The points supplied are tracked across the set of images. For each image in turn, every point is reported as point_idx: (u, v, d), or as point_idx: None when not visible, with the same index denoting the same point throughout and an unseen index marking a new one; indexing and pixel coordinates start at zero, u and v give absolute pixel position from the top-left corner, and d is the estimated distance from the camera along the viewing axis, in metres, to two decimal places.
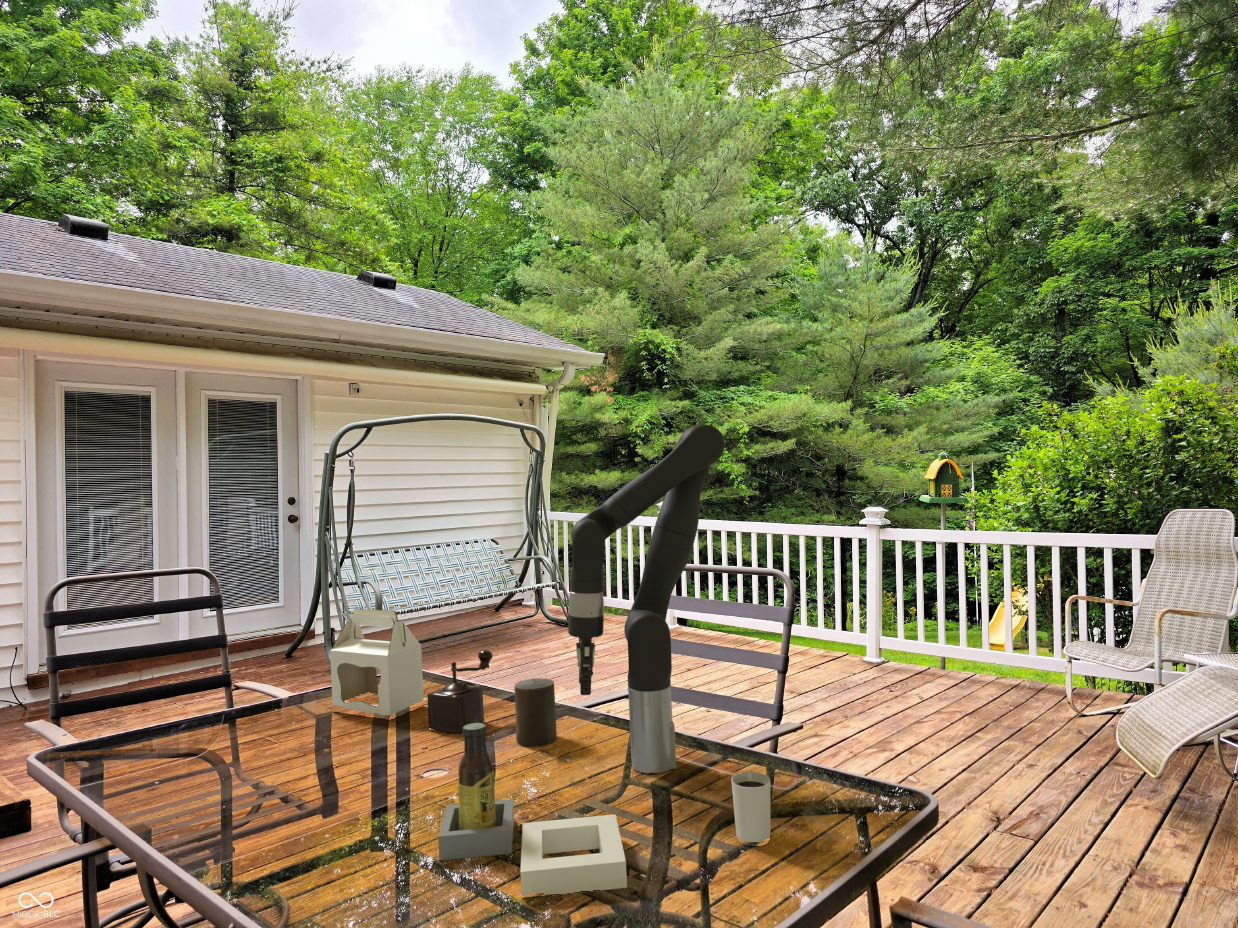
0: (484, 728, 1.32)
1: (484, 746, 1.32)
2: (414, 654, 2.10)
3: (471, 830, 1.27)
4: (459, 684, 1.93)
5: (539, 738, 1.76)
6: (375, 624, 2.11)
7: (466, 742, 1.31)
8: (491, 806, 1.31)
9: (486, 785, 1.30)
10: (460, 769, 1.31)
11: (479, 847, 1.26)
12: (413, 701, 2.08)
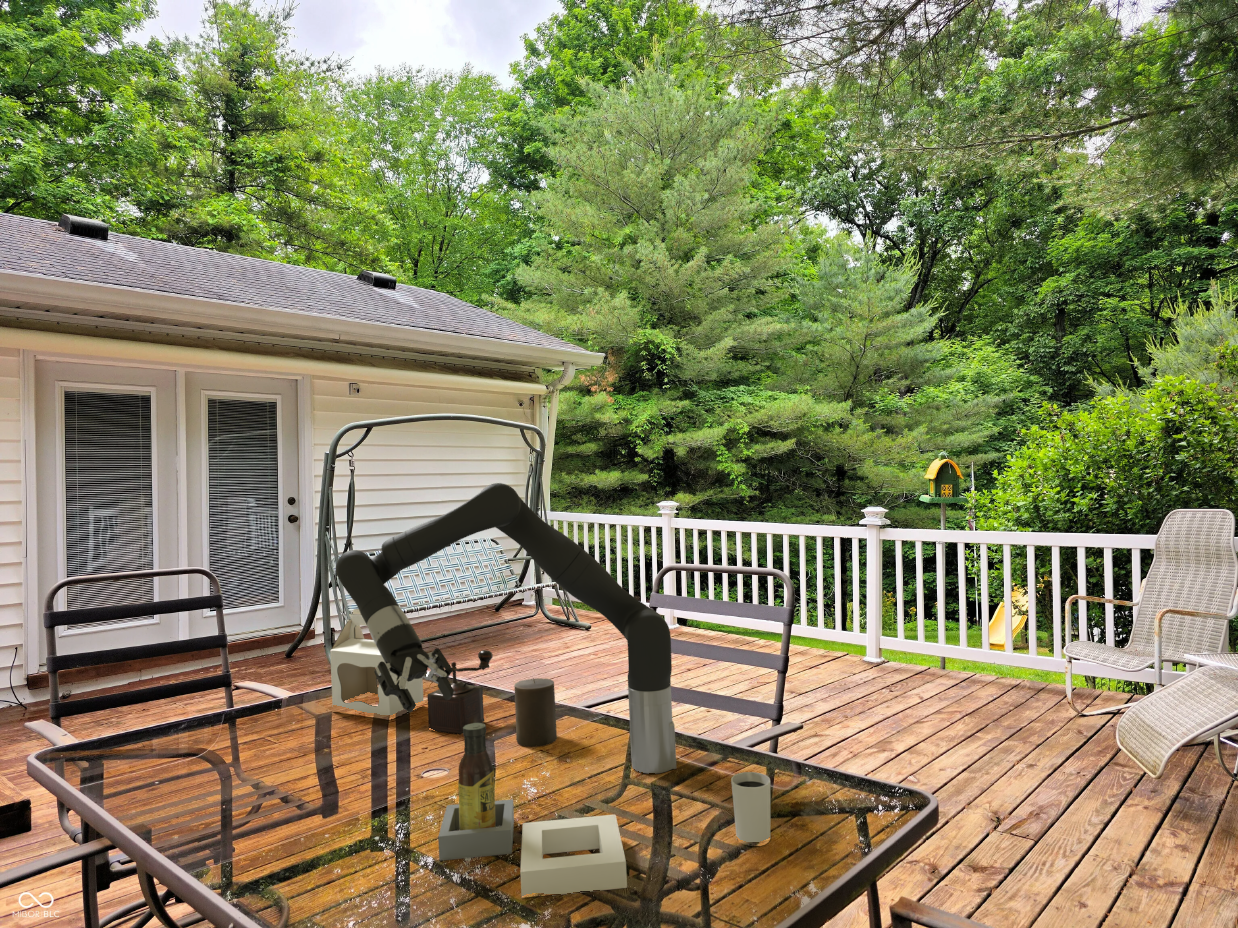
0: (484, 728, 1.32)
1: (484, 746, 1.32)
2: None
3: (471, 830, 1.27)
4: (459, 684, 1.93)
5: (539, 738, 1.76)
6: None
7: (466, 742, 1.31)
8: (492, 806, 1.31)
9: (486, 785, 1.30)
10: (460, 769, 1.31)
11: (479, 847, 1.26)
12: None
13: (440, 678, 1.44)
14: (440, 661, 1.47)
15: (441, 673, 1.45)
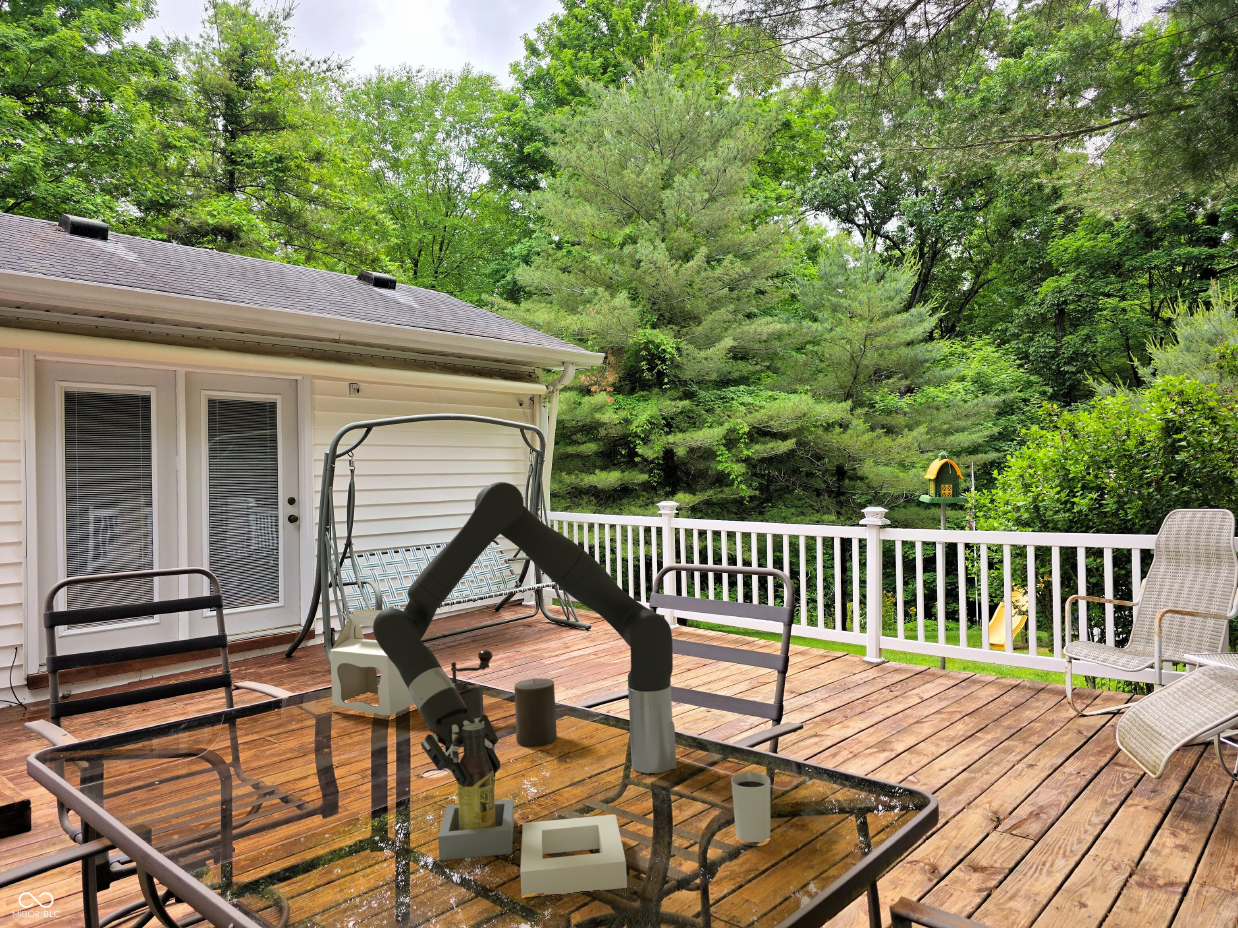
0: (483, 728, 1.32)
1: (483, 746, 1.32)
2: None
3: (471, 830, 1.27)
4: (459, 684, 1.93)
5: (539, 738, 1.76)
6: None
7: (466, 742, 1.31)
8: (491, 805, 1.31)
9: (486, 785, 1.30)
10: None
11: (479, 847, 1.26)
12: (413, 701, 2.08)
13: None
14: (486, 729, 1.38)
15: (486, 744, 1.35)
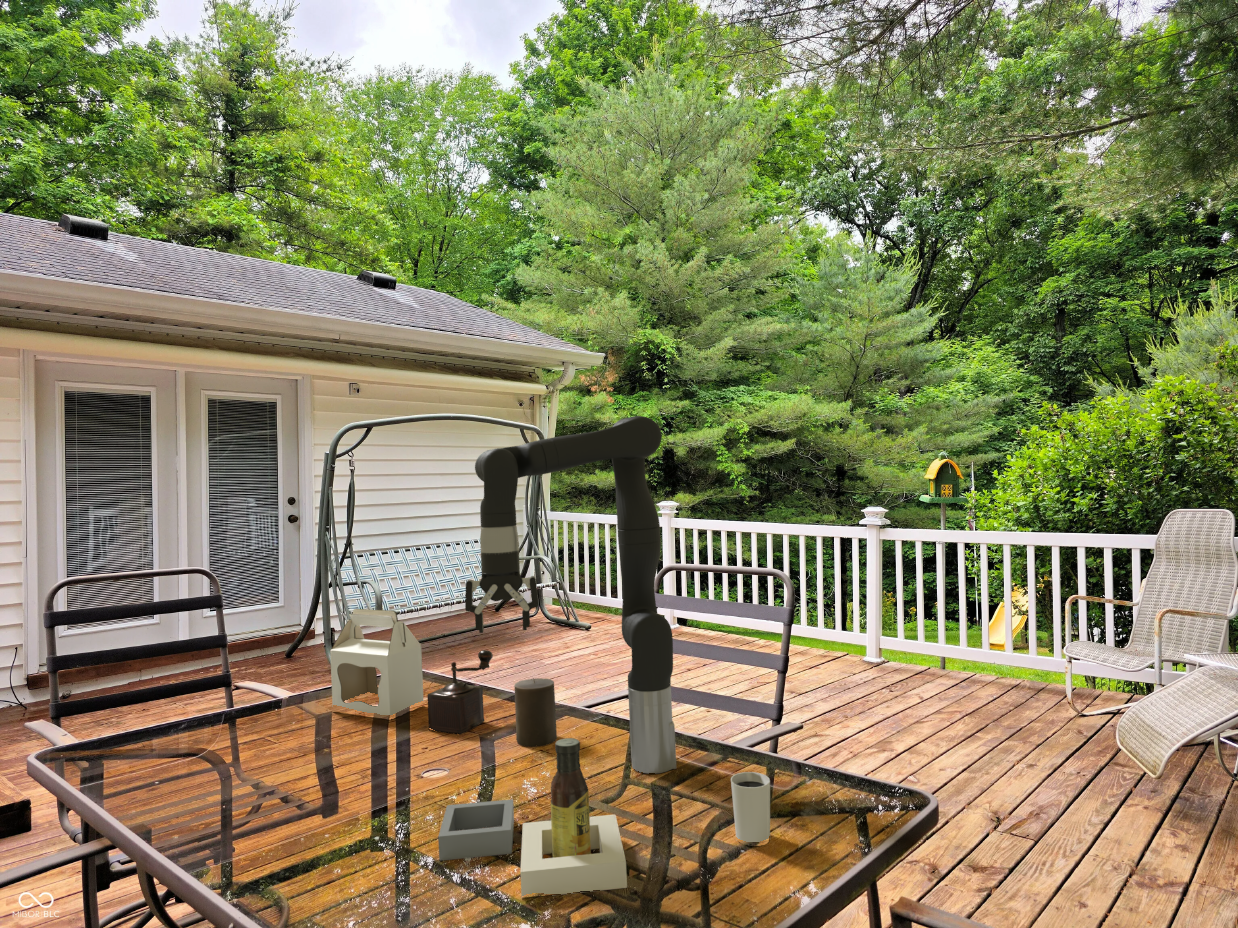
0: (578, 744, 1.22)
1: (578, 764, 1.22)
2: (414, 654, 2.10)
3: (471, 830, 1.27)
4: (459, 684, 1.93)
5: (539, 738, 1.76)
6: (375, 624, 2.11)
7: (560, 759, 1.21)
8: (587, 828, 1.21)
9: (582, 806, 1.20)
10: (553, 789, 1.21)
11: (479, 847, 1.26)
12: (413, 701, 2.08)
13: (523, 609, 1.49)
14: None
15: (523, 606, 1.48)
